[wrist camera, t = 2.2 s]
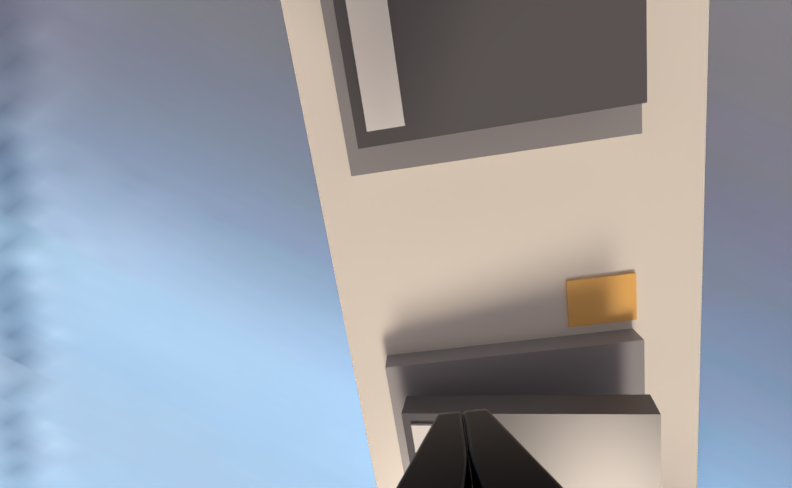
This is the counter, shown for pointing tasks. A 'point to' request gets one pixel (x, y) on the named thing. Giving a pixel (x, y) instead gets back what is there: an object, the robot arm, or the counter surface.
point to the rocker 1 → (486, 62)
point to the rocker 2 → (564, 433)
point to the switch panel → (520, 244)
